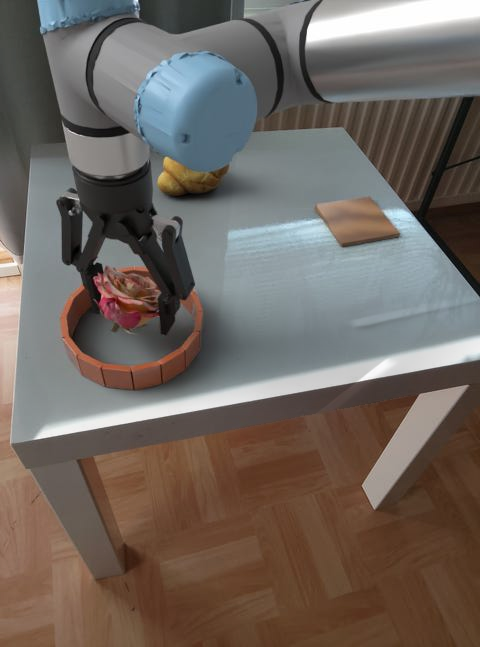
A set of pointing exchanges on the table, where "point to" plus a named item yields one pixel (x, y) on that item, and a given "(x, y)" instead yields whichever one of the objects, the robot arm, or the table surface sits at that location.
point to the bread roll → (187, 179)
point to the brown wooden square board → (356, 221)
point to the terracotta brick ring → (135, 374)
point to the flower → (126, 299)
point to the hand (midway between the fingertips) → (134, 316)
